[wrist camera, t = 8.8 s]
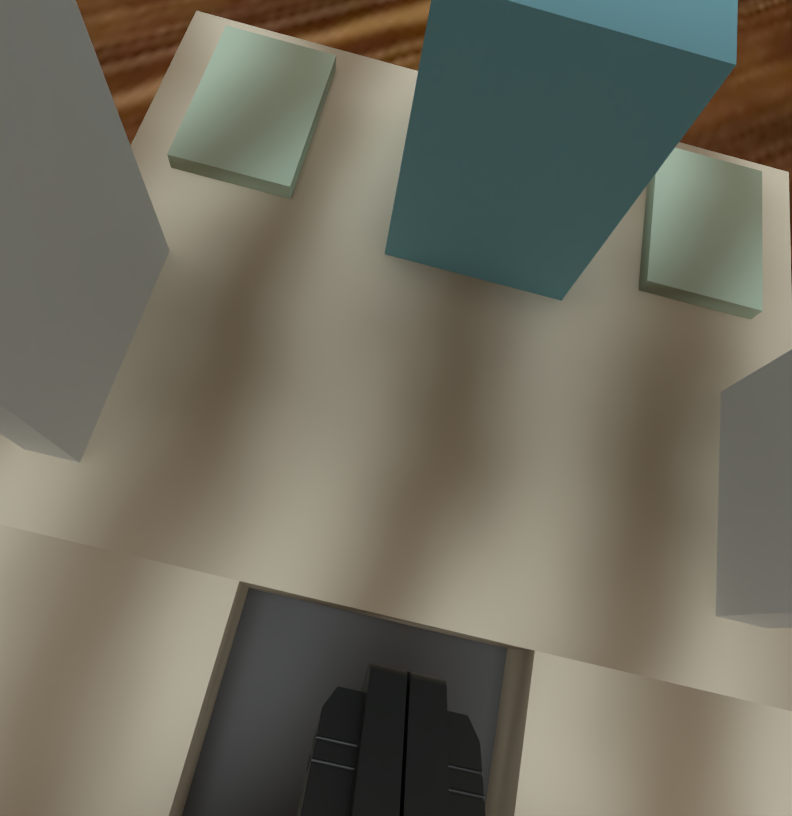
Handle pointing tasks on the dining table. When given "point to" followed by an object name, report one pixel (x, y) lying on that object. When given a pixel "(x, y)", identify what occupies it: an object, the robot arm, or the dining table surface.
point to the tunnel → (144, 258)
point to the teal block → (547, 128)
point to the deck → (394, 481)
